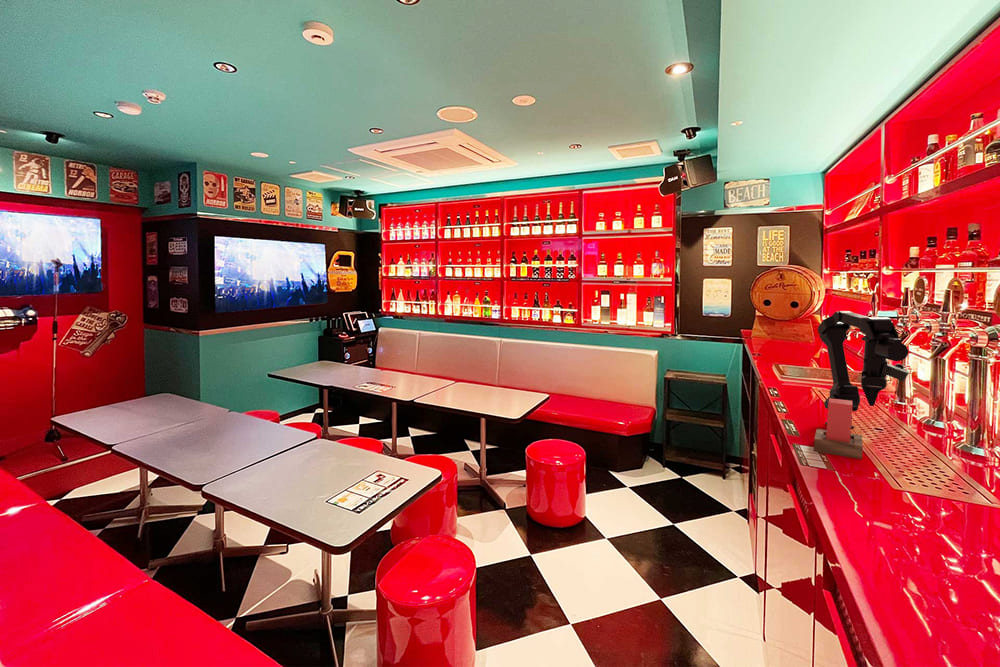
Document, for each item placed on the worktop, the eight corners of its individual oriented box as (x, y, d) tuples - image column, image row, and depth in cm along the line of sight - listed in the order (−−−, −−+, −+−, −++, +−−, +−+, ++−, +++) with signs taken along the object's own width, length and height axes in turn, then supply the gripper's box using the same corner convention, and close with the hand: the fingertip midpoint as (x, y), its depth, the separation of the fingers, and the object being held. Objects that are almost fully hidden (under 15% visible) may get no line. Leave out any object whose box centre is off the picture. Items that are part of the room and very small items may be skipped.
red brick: (826, 435, 153) (829, 398, 151) (849, 439, 149) (852, 400, 148) (826, 440, 148) (828, 402, 146) (849, 444, 144) (852, 405, 143)
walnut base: (816, 440, 157) (816, 428, 157) (861, 447, 150) (862, 435, 149) (813, 451, 147) (814, 438, 147) (861, 459, 140) (862, 446, 140)
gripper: (909, 362, 140) (905, 413, 142) (906, 354, 154) (902, 400, 156) (862, 359, 147) (859, 407, 149) (863, 351, 161) (860, 395, 163)
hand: (871, 402), depth 154 cm, fingers open, 9 cm apart
